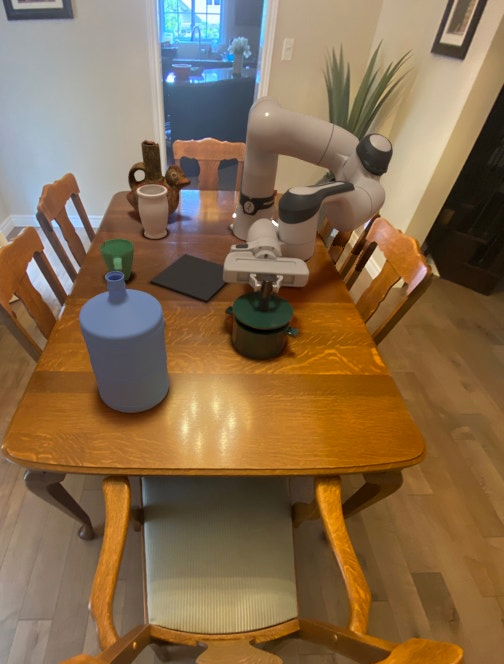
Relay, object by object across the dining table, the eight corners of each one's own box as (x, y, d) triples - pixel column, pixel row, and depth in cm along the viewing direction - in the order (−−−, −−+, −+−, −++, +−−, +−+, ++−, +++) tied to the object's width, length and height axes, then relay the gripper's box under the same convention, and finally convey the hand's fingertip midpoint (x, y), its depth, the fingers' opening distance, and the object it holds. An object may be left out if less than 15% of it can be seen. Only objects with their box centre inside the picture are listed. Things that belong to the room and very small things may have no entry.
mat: (185, 256, 124) (185, 253, 123) (237, 272, 117) (238, 270, 117) (150, 283, 112) (150, 280, 112) (206, 302, 106) (206, 300, 105)
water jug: (159, 419, 77) (146, 307, 56) (89, 409, 79) (50, 296, 58) (176, 369, 87) (170, 258, 66) (113, 360, 89) (88, 249, 68)
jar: (165, 242, 130) (162, 197, 119) (137, 239, 131) (132, 194, 120) (172, 229, 137) (170, 185, 126) (146, 226, 138) (142, 182, 127)
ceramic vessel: (185, 230, 136) (184, 152, 118) (120, 222, 140) (108, 145, 121) (196, 212, 147) (196, 138, 129) (135, 205, 151) (127, 132, 132)
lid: (248, 289, 95) (252, 255, 88) (301, 307, 90) (310, 273, 83) (221, 318, 86) (223, 283, 79) (278, 339, 82) (286, 304, 75)
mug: (105, 270, 117) (99, 239, 109) (136, 268, 118) (132, 237, 110) (106, 296, 107) (99, 264, 100) (139, 293, 108) (135, 261, 101)
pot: (237, 316, 102) (239, 292, 96) (301, 339, 96) (308, 315, 90) (213, 343, 94) (214, 319, 88) (281, 370, 88) (287, 346, 82)
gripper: (302, 273, 94) (309, 304, 85) (223, 268, 94) (221, 299, 85) (308, 249, 89) (316, 279, 80) (224, 244, 89) (223, 274, 80)
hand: (266, 289), depth 82 cm, fingers closed on lid, 2 cm apart
